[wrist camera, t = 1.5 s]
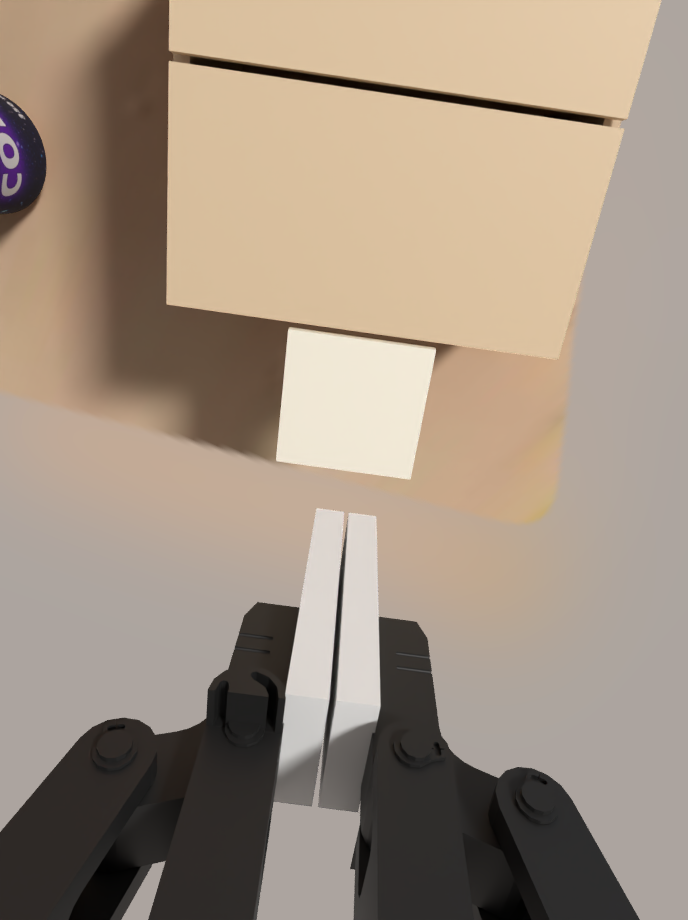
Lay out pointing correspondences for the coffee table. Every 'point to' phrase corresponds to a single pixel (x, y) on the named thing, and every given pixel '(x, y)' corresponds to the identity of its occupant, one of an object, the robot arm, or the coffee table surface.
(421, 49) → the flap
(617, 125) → the carton
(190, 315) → the coffee table surface
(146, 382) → the coffee table surface
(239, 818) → the robot arm
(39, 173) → the beverage can
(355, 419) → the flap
